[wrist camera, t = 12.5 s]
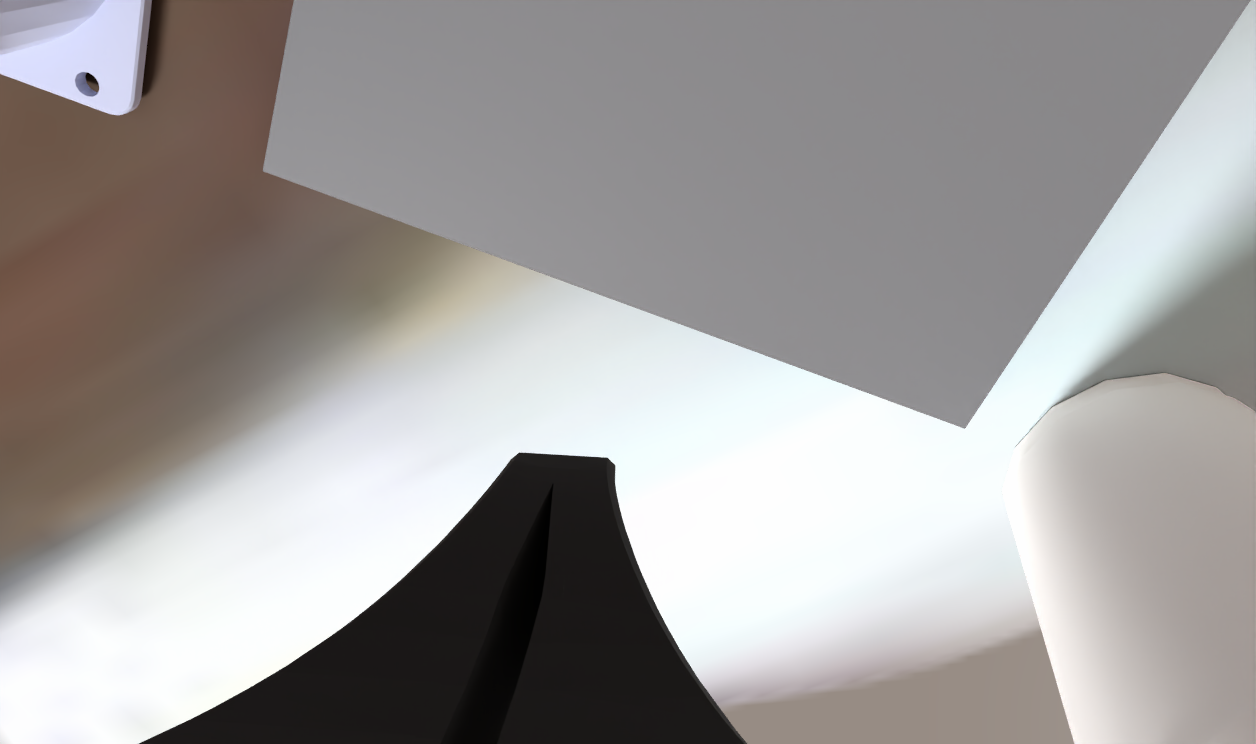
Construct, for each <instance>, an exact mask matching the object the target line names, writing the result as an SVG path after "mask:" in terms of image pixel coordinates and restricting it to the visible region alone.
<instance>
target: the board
mask: <svg viewBox="0 0 1256 744" xmlns="http://www.w3.org/2000/svg"><path fill="white" fill-rule="evenodd" d="M1249 2H1250V0H294V3H293V8H292V14H291V19H290V25H289V30H288V35H287V41H286V46H285V52H284V57H283V63H282V68H281V74H280V79H279V85H278V90H277V96H276V101H275V107H274V112H273V118H272V123H271V129H270V134H269V140H268V145H267V151H266V156H265V162H264V167H263V171H264V172H267V173H270V174H272V175H275V176H278V177H280V178H283V179H286V180H289V181H291V182H294V183H297V184H299V185H302V186H305V187H308V188H310V189H313V190H316V191H319V192H321V193H324V194H327V195H329V196H332V197H335V198H338V199H340V200H343V201H346V202H349V203H351V204H354V205H357V206H359V207H362V208H365V209H368V210H370V211H373V212H376V213H379V214H381V215H384V216H387V217H389V218H392V219H395V220H398V221H400V222H403V223H406V224H409V225H411V226H414V227H417V228H419V229H422V230H425V231H428V232H430V233H433V234H436V235H439V236H441V237H444V238H447V239H449V240H452V241H455V242H458V243H460V244H463V245H466V246H469V247H471V248H474V249H477V250H479V251H482V252H485V253H488V254H490V255H493V256H496V257H499V258H501V259H504V260H507V261H509V262H512V263H515V264H518V265H520V266H523V267H526V268H529V269H531V270H534V271H537V272H539V273H542V274H545V275H548V276H550V277H553V278H556V279H559V280H561V281H564V282H567V283H569V284H572V285H575V286H578V287H580V288H583V289H586V290H589V291H591V292H594V293H597V294H599V295H602V296H605V297H608V298H610V299H613V300H616V301H619V302H621V303H624V304H627V305H629V306H632V307H635V308H638V309H640V310H643V311H646V312H648V313H651V314H654V315H657V316H659V317H662V318H665V319H668V320H670V321H673V322H676V323H678V324H681V325H684V326H687V327H689V328H692V329H695V330H698V331H700V332H703V333H706V334H708V335H711V336H714V337H717V338H719V339H722V340H725V341H728V342H730V343H733V344H736V345H738V346H741V347H744V348H747V349H749V350H752V351H755V352H758V353H760V354H763V355H766V356H768V357H771V358H774V359H777V360H779V361H782V362H785V363H788V364H790V365H793V366H796V367H798V368H801V369H804V370H807V371H809V372H812V373H815V374H818V375H820V376H823V377H826V378H828V379H831V380H834V381H837V382H839V383H842V384H845V385H848V386H850V387H853V388H856V389H858V390H861V391H864V392H867V393H869V394H872V395H875V396H878V397H880V398H883V399H886V400H888V401H891V402H894V403H897V404H899V405H902V406H905V407H908V408H910V409H913V410H916V411H918V412H921V413H924V414H927V415H929V416H932V417H935V418H938V419H940V420H943V421H946V422H948V423H951V424H954V425H957V426H959V427H962V428H966V426H967V425H968V423H969V422H970V420H971V419H972V417H973V416H974V414H975V413H976V411H977V410H978V408H979V407H980V405H981V404H982V402H983V401H984V399H985V398H986V396H987V395H988V393H989V392H990V390H991V389H992V387H993V386H994V384H995V383H996V381H997V380H998V378H999V377H1000V375H1001V374H1002V372H1003V371H1004V369H1005V368H1006V366H1007V365H1008V363H1009V362H1010V360H1011V359H1012V357H1013V356H1014V354H1015V353H1016V351H1017V350H1018V348H1019V347H1020V345H1021V344H1022V342H1023V341H1024V339H1025V338H1026V336H1027V335H1028V333H1029V332H1030V330H1031V329H1032V327H1033V326H1034V324H1035V323H1036V321H1037V320H1038V318H1039V317H1040V315H1041V314H1042V312H1043V311H1044V309H1045V308H1046V306H1047V305H1048V303H1049V302H1050V300H1051V299H1052V297H1053V296H1054V294H1055V293H1056V291H1057V290H1058V288H1059V287H1060V285H1061V284H1062V282H1063V281H1064V279H1065V278H1066V276H1067V275H1068V273H1069V272H1070V270H1071V269H1072V267H1073V266H1074V264H1075V263H1076V261H1077V260H1078V258H1079V257H1080V255H1081V254H1082V252H1083V251H1084V249H1085V248H1086V246H1087V245H1088V243H1089V242H1090V240H1091V239H1092V237H1093V236H1094V234H1095V233H1096V231H1097V230H1098V228H1099V227H1100V225H1101V224H1102V222H1103V221H1104V219H1105V218H1106V216H1107V215H1108V213H1109V212H1110V210H1111V209H1112V207H1113V206H1114V204H1115V203H1116V201H1117V200H1118V198H1119V197H1120V195H1121V194H1122V192H1123V191H1124V189H1125V188H1126V186H1127V185H1128V183H1129V182H1130V180H1131V179H1132V177H1133V176H1134V174H1135V173H1136V171H1137V170H1138V168H1139V167H1140V165H1141V164H1142V162H1143V161H1144V159H1145V158H1146V156H1147V155H1148V153H1149V152H1150V150H1151V149H1152V147H1153V146H1154V144H1155V143H1156V141H1157V140H1158V138H1159V137H1160V135H1161V134H1162V132H1163V131H1164V129H1165V128H1166V126H1167V125H1168V123H1169V122H1170V120H1171V119H1172V117H1173V116H1174V114H1175V113H1176V111H1177V110H1178V108H1179V107H1180V105H1181V104H1182V102H1183V101H1184V99H1185V98H1186V96H1187V95H1188V93H1189V92H1190V90H1191V89H1192V87H1193V86H1194V84H1195V83H1196V81H1197V80H1198V78H1199V77H1200V75H1201V74H1202V72H1203V71H1204V69H1205V68H1206V66H1207V65H1208V63H1209V62H1210V60H1211V59H1212V57H1213V56H1214V54H1215V53H1216V51H1217V50H1218V48H1219V47H1220V45H1221V44H1222V42H1223V41H1224V39H1225V38H1226V36H1227V35H1228V33H1229V32H1230V30H1231V29H1232V27H1233V26H1234V24H1235V23H1236V21H1237V20H1238V18H1239V17H1240V15H1241V14H1242V12H1243V11H1244V9H1245V8H1246V6H1247V5H1248V3H1249Z"/></svg>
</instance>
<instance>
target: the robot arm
mask: <svg viewBox="0 0 1256 744" xmlns="http://www.w3.org/2000/svg"><path fill="white" fill-rule="evenodd" d="M151 4H152V0H0V74H2V75H5V76H8V77H10V78H13V79H16V80H19V81H21V82H24V83H27V84H29V85H32V86H35V87H38V88H40V89H43V90H46V91H49V92H51V93H54V94H57V95H59V96H62V97H65V98H68V99H70V100H73V101H76V102H79V103H81V104H84V105H87V106H89V107H92V108H95V109H98V110H100V111H103V112H106V113H109V114H113V115H122V114H126V113H128V112H131V111H133V110H134V109H135V108H136V107H137V106H139V103H140V100H141V95H142V86H143V77H144V68H145V59H146V50H147V41H148V31H149V22H150V13H151ZM87 72H88V73H90V74H91V75H93V76H94V77H95V78H96V80H97V81H98V83H99V88H100V89H99V92H98V93H97V92H95V91H94V90H92V89H91V88H90V87H89V86H88V84H87V83H86V77H85V76H86V73H87ZM139 744H747V743H746V742H745V741H744V739H743V738H742V737H741V736H740V735H739V734H738V732H737V731H736V730H735V728H734V727H733V726H732V725H731V723H730V722H729V720H728V719H727V718H726V716H725V715H724V713H723V712H722V711H721V709H720V708H719V707H718V705H717V704H716V702H715V701H714V700H713V698H712V697H711V696H710V694H709V693H708V692H707V690H706V689H705V687H704V686H703V685H702V683H701V682H700V681H699V679H698V678H697V676H696V675H695V673H694V671H693V670H692V668H691V667H690V665H689V663H688V662H687V660H686V659H685V657H684V655H683V654H682V652H681V651H680V649H679V647H678V645H677V644H676V642H675V640H674V638H673V637H672V635H671V633H670V631H669V630H668V628H667V626H666V624H665V622H664V620H663V618H662V616H661V615H660V613H659V611H658V609H657V606H656V604H655V602H654V600H653V598H652V596H651V594H650V592H649V589H648V587H647V585H646V583H645V580H644V578H643V576H642V573H641V571H640V569H639V566H638V564H637V561H636V558H635V556H634V553H633V550H632V547H631V544H630V541H629V538H628V536H627V533H626V530H625V526H624V523H623V520H622V516H621V512H620V508H619V504H618V499H617V494H616V487H615V465H614V464H613V463H612V462H611V461H610V460H609V459H608V458H601V457H585V456H568V455H551V454H534V453H518V454H517V455H516V456H515V457H513V458H512V459H511V460H510V462H509V463H508V464H507V466H506V467H505V468H504V469H503V471H502V472H501V473H500V475H499V476H498V477H497V478H496V480H495V481H494V482H493V483H492V485H491V486H490V487H489V488H488V490H487V491H486V492H485V493H484V494H483V495H482V497H481V498H480V499H479V500H478V501H477V502H476V504H475V505H474V506H473V507H472V508H471V509H470V511H469V512H468V513H467V514H466V515H465V516H464V517H463V518H462V519H461V520H460V521H459V523H458V524H457V525H456V526H455V527H454V528H453V529H452V530H451V531H450V532H449V533H448V535H447V536H446V537H445V538H444V539H443V540H442V541H441V542H440V543H439V544H438V545H437V546H436V547H435V548H434V549H433V550H432V551H431V552H430V553H429V554H428V555H427V556H426V557H425V558H423V559H422V560H421V561H420V562H419V563H418V564H417V565H416V566H415V567H414V568H413V569H412V570H411V571H410V572H409V573H408V574H407V575H406V576H405V577H404V578H403V579H401V580H400V581H399V582H398V583H397V584H396V585H395V586H394V587H392V588H391V589H390V590H389V591H388V592H387V593H386V594H384V595H383V596H382V597H381V598H380V599H378V600H377V601H376V602H375V603H374V604H372V605H371V606H370V607H369V608H367V609H366V610H365V611H364V612H362V613H361V614H360V615H359V616H357V617H356V618H355V619H354V620H352V621H351V622H350V623H348V624H347V625H346V626H344V627H343V628H342V629H340V630H339V631H337V632H336V633H335V634H333V635H332V636H330V637H329V638H327V639H326V640H325V641H323V642H322V643H320V644H319V645H317V646H316V647H314V648H313V649H311V650H310V651H308V652H307V653H305V654H304V655H302V656H301V657H299V658H298V659H296V660H295V661H293V662H292V663H290V664H289V665H287V666H286V667H284V668H282V669H281V670H279V671H278V672H276V673H274V674H272V675H271V676H269V677H267V678H266V679H264V680H262V681H261V682H259V683H257V684H255V685H254V686H252V687H250V688H249V689H247V690H245V691H243V692H241V693H240V694H238V695H236V696H234V697H232V698H230V699H229V700H227V701H225V702H223V703H221V704H219V705H218V706H216V707H214V708H212V709H210V710H208V711H206V712H204V713H202V714H200V715H198V716H196V717H194V718H193V719H191V720H188V721H186V722H184V723H182V724H180V725H178V726H176V727H173V728H171V729H169V730H167V731H165V732H163V733H161V734H159V735H156V736H154V737H152V738H150V739H148V740H146V741H144V742H141V743H139Z"/></svg>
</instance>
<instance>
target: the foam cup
mask: <svg viewBox="0 0 1256 744" xmlns="http://www.w3.org/2000/svg"><path fill="white" fill-rule="evenodd" d="M1002 493H1003V497H1004V500H1005V504H1006V509H1007V513H1008V516H1009V520H1010V523H1011V527H1012V530H1013V534H1014V537H1015V541H1016V544H1017V547H1018V551H1019V554H1020V558H1021V561H1022V565H1023V568H1024V572H1025V575H1026V578H1027V582H1028V585H1029V589H1030V592H1031V596H1032V599H1033V603H1034V606H1035V609H1036V613H1037V616H1038V620H1039V623H1040V627H1041V630H1042V634H1043V637H1044V640H1045V643H1046V647H1047V651H1048V654H1049V657H1050V661H1051V664H1052V668H1053V671H1054V675H1055V678H1056V682H1057V685H1058V689H1059V692H1060V696H1061V699H1062V702H1063V706H1064V709H1065V713H1066V716H1067V720H1068V723H1069V726H1070V730H1071V733H1072V737H1073V740H1074V744H1256V411H1254V410H1253V409H1251V408H1249V407H1248V406H1246V405H1245V404H1243V403H1242V402H1240V401H1239V400H1237V399H1235V398H1234V397H1231V396H1227V395H1224V394H1223V393H1222V392H1221V391H1220V390H1219V389H1218V388H1217V387H1214V386H1210V385H1207V384H1203V383H1200V382H1196V381H1193V380H1189V379H1185V378H1182V377H1178V376H1175V375H1171V374H1168V373H1159V374H1151V375H1143V376H1135V377H1127V378H1119V379H1111V380H1105V381H1103V382H1101V383H1099V384H1097V385H1095V386H1093V387H1091V388H1089V389H1087V390H1085V391H1083V392H1081V393H1079V394H1077V395H1075V396H1073V397H1071V398H1069V399H1067V400H1065V401H1063V402H1061V403H1059V404H1057V405H1055V406H1053V407H1052V408H1051V409H1050V410H1049V411H1048V412H1047V413H1046V414H1045V415H1044V416H1043V417H1042V419H1041V420H1040V421H1039V422H1038V423H1037V424H1036V425H1035V426H1034V427H1033V428H1032V429H1031V431H1030V432H1029V433H1028V434H1027V435H1026V436H1025V437H1024V438H1023V439H1022V440H1021V441H1020V443H1019V444H1018V445H1017V446H1016V447H1015V449H1014V453H1013V456H1012V459H1011V463H1010V466H1009V469H1008V473H1007V476H1006V479H1005V483H1004V486H1003V489H1002Z"/></svg>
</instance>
